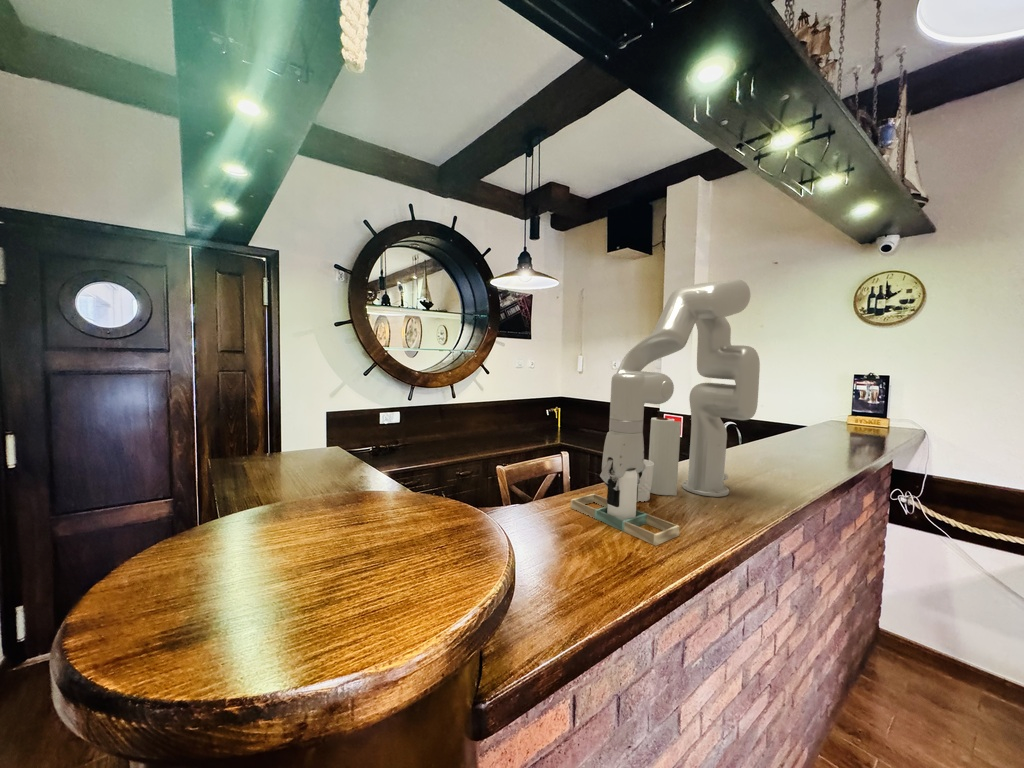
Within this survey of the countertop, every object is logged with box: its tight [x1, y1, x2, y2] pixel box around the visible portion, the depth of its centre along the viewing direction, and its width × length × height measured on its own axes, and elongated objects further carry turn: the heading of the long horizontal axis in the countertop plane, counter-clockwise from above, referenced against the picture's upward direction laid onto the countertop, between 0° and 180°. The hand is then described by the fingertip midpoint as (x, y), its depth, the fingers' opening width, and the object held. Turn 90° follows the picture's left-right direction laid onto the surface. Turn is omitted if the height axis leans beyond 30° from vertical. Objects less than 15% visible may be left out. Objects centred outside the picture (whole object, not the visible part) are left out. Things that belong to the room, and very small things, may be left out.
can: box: [607, 468, 638, 521], centre depth 97 cm, size 6×6×12 cm
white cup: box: [636, 458, 654, 503], centre depth 114 cm, size 8×8×10 cm
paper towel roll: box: [648, 417, 682, 496], centre depth 119 cm, size 7×6×21 cm
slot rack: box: [570, 493, 681, 547], centre depth 98 cm, size 9×25×2 cm, turn 37°
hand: (622, 501), depth 98 cm, fingers closed on can, 5 cm apart
